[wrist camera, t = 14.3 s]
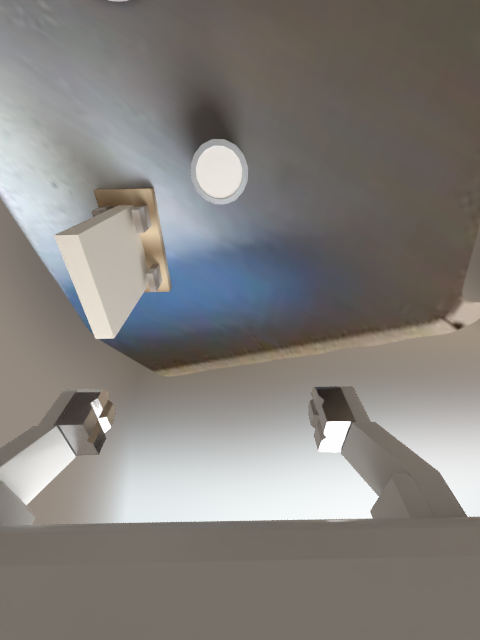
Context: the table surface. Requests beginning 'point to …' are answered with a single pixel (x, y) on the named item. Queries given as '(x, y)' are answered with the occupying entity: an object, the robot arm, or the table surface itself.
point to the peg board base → (141, 229)
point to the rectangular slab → (106, 267)
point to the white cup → (219, 171)
